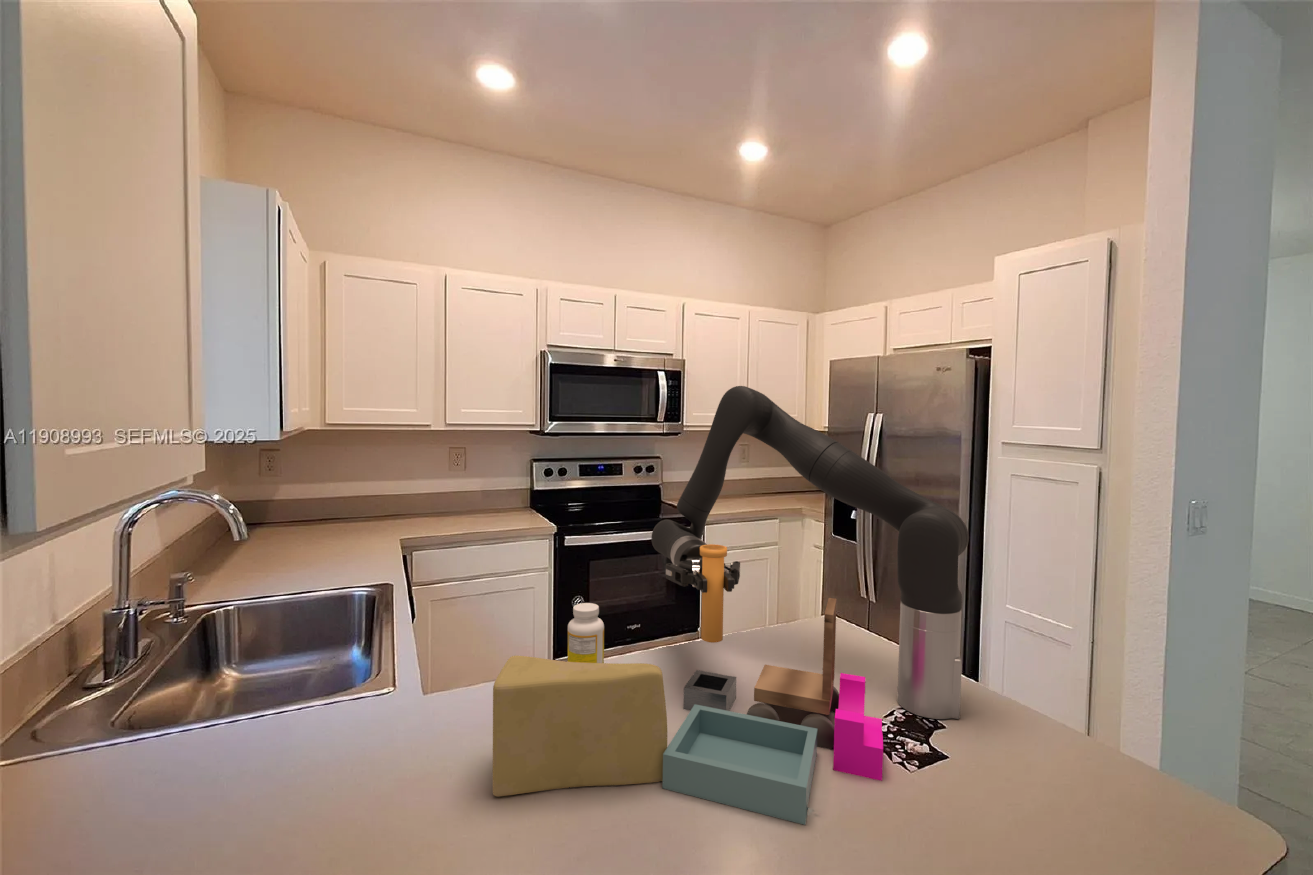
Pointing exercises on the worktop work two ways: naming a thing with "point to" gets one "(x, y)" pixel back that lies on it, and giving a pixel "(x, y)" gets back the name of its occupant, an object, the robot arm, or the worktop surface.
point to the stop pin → (713, 592)
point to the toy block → (856, 732)
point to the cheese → (576, 725)
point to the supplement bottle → (586, 635)
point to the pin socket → (710, 691)
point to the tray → (743, 762)
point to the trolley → (803, 687)
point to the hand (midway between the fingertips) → (717, 585)
